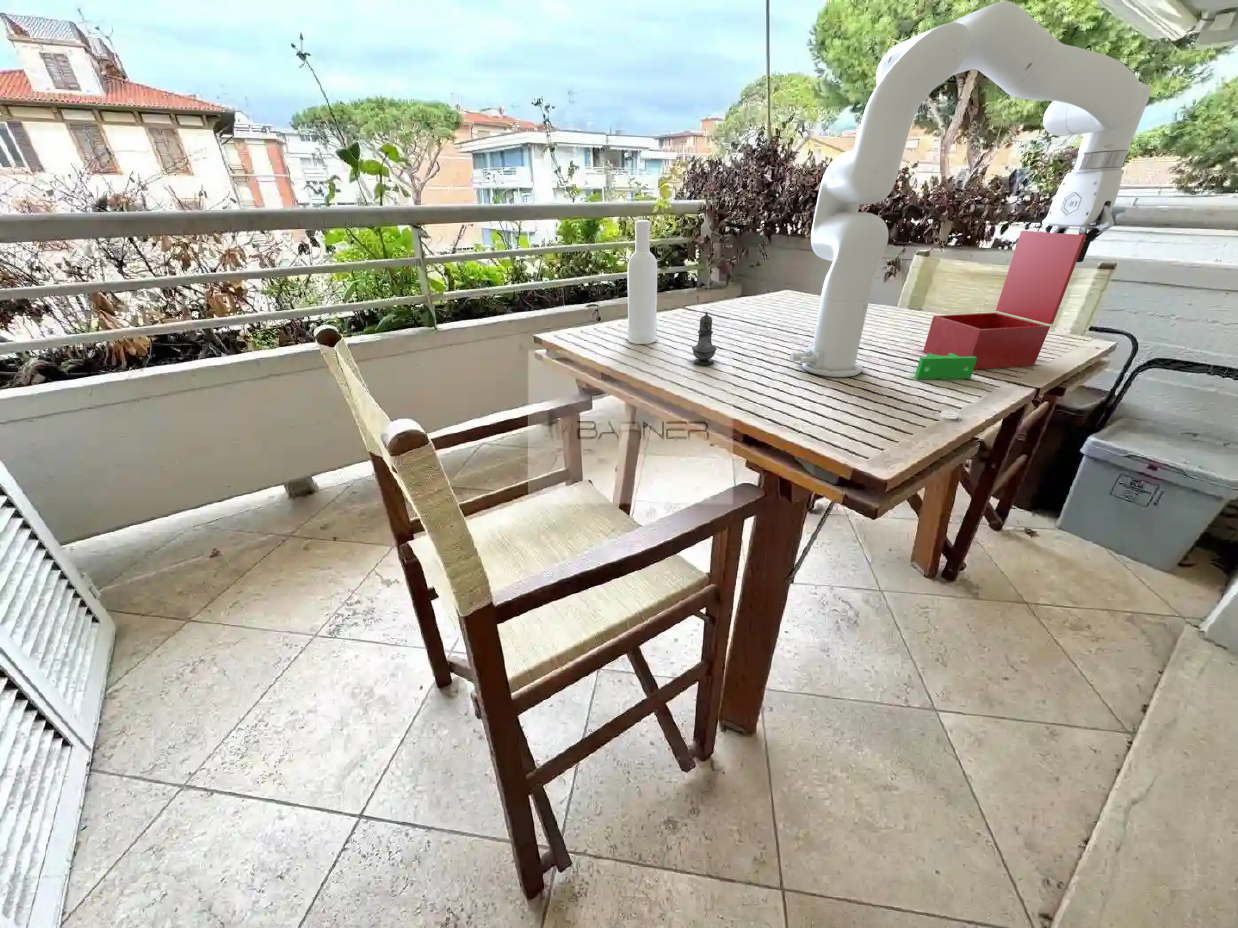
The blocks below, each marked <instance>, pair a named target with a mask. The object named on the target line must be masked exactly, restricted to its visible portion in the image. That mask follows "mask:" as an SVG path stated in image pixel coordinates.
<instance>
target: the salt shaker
mask: <svg viewBox="0 0 1238 928" xmlns="http://www.w3.org/2000/svg"><path fill="white" fill-rule="evenodd" d="M712 329H713V317H712V316H710V315H709V313H708V311H705V313H704V315H703V316H701V317H700V318H699V329H698V331H697V334H698V341H697V344H696V345H695V344H694V345H693V346H692V347H691V350H692V353H693V356H694V357H695V359H693V360H692V362H691V363H692V365H694V366H699V367H710V366H714V364H715V361H714V360H713V359H712V358H713V357H714V356H715V354H716V351H717V350H718V348H717V346H715V345H713V343H712V335H713V333H714V331H713V330H712Z"/></svg>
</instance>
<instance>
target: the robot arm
mask: <svg viewBox="0 0 1238 928" xmlns="http://www.w3.org/2000/svg"><path fill="white" fill-rule="evenodd" d="M972 70H976V71H978V72H980V73H981V74H982V75H984V76H985V77H986V78H988V79H989V80H990V81H991V82H993V83H994V84H995V85H996V86H998V87H999V88H1000V89H1002V91H1004V92H1005V93H1006V94H1008V96H1010V97H1013V98H1016V99H1021V100H1026V101H1027V100H1028V101H1040V102H1041V101H1042V102H1043V101H1045V102H1047V101H1048V102H1051V103H1050V104H1049V105H1048V107H1047V108H1046V110H1045V112H1044V114H1043V117H1042V125H1043V128H1044V130H1045V132H1047V133H1048V134H1049V135H1052V136H1056V137H1066V136H1074V135H1075V136H1076V135H1080V134H1081V135H1082V134H1083V137H1082V140H1081V143H1080V145H1079V149H1078V151H1077V154H1076V157H1075V158H1073V160H1072V161H1071V165H1072V168H1071V172H1067V173H1066V175H1065V176H1064V178H1063V179H1062V182H1061V183H1060V185H1059V187H1058V189H1057V190H1056V193H1055V196H1054V198H1053V200H1052V203H1051V205H1050V207H1049V210H1048V213H1047V215H1046V217H1044V219H1043V220H1042V225H1043V227H1044V228H1045V232H1048V233H1062V234H1067V232H1068V230H1069V228H1070V227H1075V228H1078V235H1087V236H1086V238H1085V241H1084V244H1083V246H1082V249H1081V251H1080V254H1079V257H1078V259H1077V262H1076V263H1083V262H1084V259H1085V257H1086V255H1087V252H1088V250H1089V247H1090V245H1091V242H1095V241H1096V238H1098V237H1099V236H1101V235H1103V233H1104V232H1106V231H1108V230H1109V229H1111V228H1112V227H1114V226H1115V221H1114V218H1113V215H1112V212H1113V209H1114V206H1115V204H1116V201H1117V198H1118V195H1119V191H1120V188H1121V185H1122V184H1121V183H1122V178H1123V171H1124V170H1123V169H1122V167H1123V165H1124V162H1125V161H1126V158H1127V155H1128V153H1129V149H1130V147H1131V145H1132V142H1133V139H1134V137H1135V134H1136V132H1137V129H1138V127H1139V124H1140V122H1141V120H1142V116H1143V115H1144V112H1145V109H1146V107H1147V105H1148V101H1149V100H1150V96H1151V93H1152V88H1151V86H1150V85H1148V84H1145V83H1141V81H1140V80H1139V78H1138V77H1137V76H1136V75H1135V74H1134V73H1133V71H1132V70H1130V69H1129V68H1128V67H1127V65H1125V64H1124V63H1122V62H1121V61H1119V60H1117V59H1116V58H1113V57H1112V56H1109V55H1107V54H1103V53H1099V52H1096V51H1092V50H1088V49H1085V48H1081V47H1078V46H1074V45H1068V44H1064V43H1062V42H1061V41H1059V40H1058V39H1057V38H1056V37H1054V36H1053V35H1052V34H1051V33H1050V32H1049V31H1048V30H1047V29H1045V28H1044V27H1043V26H1042V25H1041V24H1040V23H1039V22H1037V21H1036V20H1035V19H1034V18H1033V17H1032V16H1030V14H1028V13H1027V12H1026V11H1025V10H1024V9H1023V8H1022V7H1020V6H1019V4H1017V3H1014V2H1013V1H1010V0H1009V1H1008V0H1003V1H1002V0H1001V1H999V2H998V1H997V2H994V3H991V4H989V5H986V6H983V7H982V8H979V9H977V10H975V11H973V12H970V13H968V14H965V15H963V16H961V17H959V18H956V19H955V20H952V21H950V22H946V23H942V24H940V25H938V26H935V27H932V28H929V29H928V30H926V31H923V32H922V33H919V34H918V35H917V34H916V35H915V36H912V37H910V38H908V39H905V40H904V41H901V42H899V43H897V44H896V45H894V46H892V47H891V48H889V50H888V51H887V52H886V53H885V54H884V55H883V57H882V58H881V60H880V62H879V64H878V66H877V69H876V73H875V74H876V75H875V83H876V87H875V88H874V90H873V92H872V93H871V95H870V97H869V99H868V101H867V103H866V105H865V109H864V111H863V115H862V117H861V121H860V125H859V129H858V131H857V136H856V139H855V143H854V147H853V149H852V150H848V151H844V152H842V153H841V154H839V155H838V156H836V157H835V158H834V159H833V160H832V161H831V162H830V163H829V165H828V167H827V168H826V170H825V172H824V174H823V176H822V179H821V183H820V187H819V191H818V195H817V201H816V205H815V211H814V215H813V221H812V226H811V231H810V245H811V249H812V251H813V253H814V254H815V255H816V256H817V257H819V258H820V259H822V260H826V261H829V262H832V263H831V265H830V267H829V269H828V271H827V273H826V275H825V277H824V281H823V284H822V289H821V294H820V300H819V307H818V311H817V318H816V323H815V329H814V333H813V334H814V336H813V341H812V346H807V349H806V350H804V351H803V352H798V351H797V352H791V353H790V354H789V360H790V362H800V364H801V368H802V369H803V370H805V371H806V372H809V373H811V374H815V375H818V376H822V377H823V376H824V377H831V378H849V377H854V376H857V375H859V374H861V373H862V369H863V366H862V364H861V363H859V362H858V361H857V358H858V353H859V349H860V343H861V340H862V335H863V331H864V325H865V321H866V317H867V313H868V308H869V305H870V298H871V295H872V290H873V286H874V282H875V278H876V274H877V271H878V270H879V265H880V264H881V262H882V259H883V256H884V254H885V252H886V250H887V246H888V242H889V228H888V226H887V222H885V220H884V219H883V218H882V217H880V215H876V214H874V213H871V212H863V211H859V209H860V205H872V204H877V203H879V202H882V201H883V200H885V199H886V198H888V196H890V194H891V192H892V191H893V189H894V187H895V185H896V181H897V178H898V175H899V171H900V167H901V163H902V159H903V157H904V153H905V149H906V145H907V141H908V137H909V134H910V131H911V127H912V124H913V121H914V118H915V116H916V115H917V112H918V110H919V108H920V107H921V105H922V104H923V102H924V101H925V100H926V98H928V96H929V95H931V93H932V92H933V91H934V90H935V89H936V88H938V87H939V86H940V85H942V84H943V83H945V82H947V81H948V80H949V79H950V78H951V77H953V76H955V75H959V74H961V73H965V72H968V71H972Z"/></svg>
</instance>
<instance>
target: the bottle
mask: <svg viewBox="0 0 1238 928" xmlns="http://www.w3.org/2000/svg"><path fill="white" fill-rule="evenodd" d="M634 223H635V225H634V229H635V230H634V231H635V232H634V235H635V238H634V239H635V240H634V241H635V243H634V245H635V251H634V252H633V253H632V255H631V256H630V257H629V259H628V262H627V340H628V342H629V343H631V344H635V345H648V344H653V343H655V342H656V341H657V309H658V308H657V307H658V261H657V259H656V256H655V255H654V254H653V253H652V252H651V251H650V250H651V249H650V247H651V246H650V245H651V243H650V240H651V222H650V219H649V220H647V219H645V220H644V219H642V220H635V222H634Z"/></svg>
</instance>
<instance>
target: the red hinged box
mask: <svg viewBox="0 0 1238 928" xmlns="http://www.w3.org/2000/svg"><path fill="white" fill-rule="evenodd" d="M1050 328H1051V325H1046V324H1044V323H1040V322H1039V323H1038V322H1036V321H1031V320H1028V319H1025V318H1021V317H1017V316H1016V317H1015V316H1013V315H1009V314H1005V313H1001V312H981V313H980V312H979V313H962V314H961V313H960V314H943V315H942V314H940V315H933V316H932V319H931V323H930V326H929V330H928V333H927V337H926V341H925V343H924V347H923V350H922V352H923V353H924V354H927V355H928V353H932V354H934V355H940V356H948V355H949V353H953V354H955V355H957V356H959V357H967V356H974V357H976V358H977V361H976V364H975V366H974V369H973V370H987V369H1002V368H1003V369H1005V368H1018V367H1031V366H1034V367H1035V365H1036V362H1037V360H1038V357H1039V355H1040V353H1041V350H1042V348H1043V345H1044V343H1045V341H1046V339H1047V336H1048V334H1049V331H1050ZM965 368H966V367H965ZM965 368H964V369H965Z"/></svg>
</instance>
